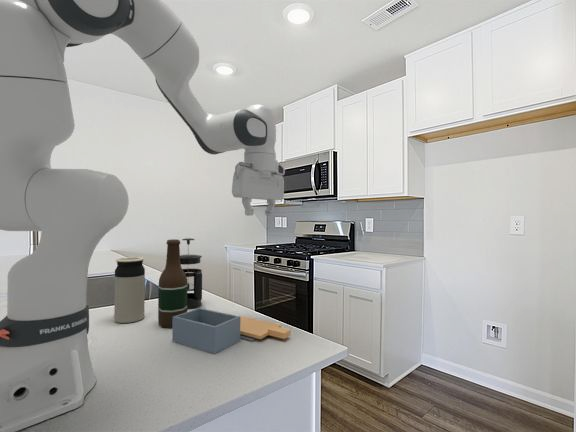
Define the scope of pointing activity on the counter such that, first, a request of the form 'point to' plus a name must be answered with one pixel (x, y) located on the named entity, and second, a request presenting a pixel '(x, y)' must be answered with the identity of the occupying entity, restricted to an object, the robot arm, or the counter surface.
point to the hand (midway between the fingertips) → (259, 215)
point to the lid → (262, 328)
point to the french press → (195, 297)
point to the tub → (206, 330)
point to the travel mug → (129, 290)
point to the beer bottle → (172, 287)
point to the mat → (247, 338)
